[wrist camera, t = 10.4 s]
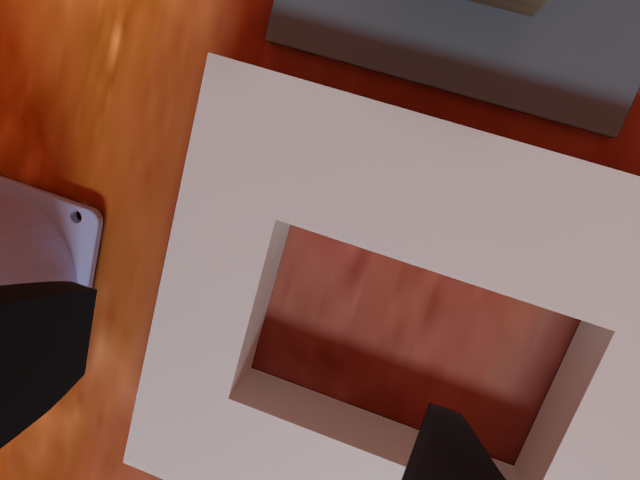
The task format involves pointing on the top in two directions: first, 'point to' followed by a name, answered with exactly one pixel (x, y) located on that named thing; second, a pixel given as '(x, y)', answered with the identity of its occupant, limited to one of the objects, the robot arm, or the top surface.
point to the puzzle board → (390, 240)
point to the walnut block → (515, 5)
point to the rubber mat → (485, 51)
